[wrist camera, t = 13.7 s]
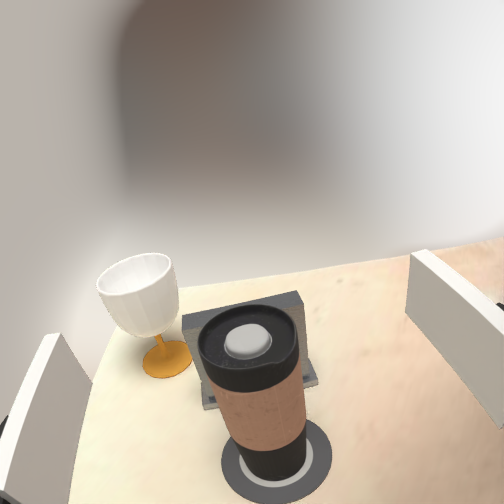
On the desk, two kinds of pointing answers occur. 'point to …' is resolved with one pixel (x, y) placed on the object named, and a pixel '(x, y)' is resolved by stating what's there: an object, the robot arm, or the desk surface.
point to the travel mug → (258, 386)
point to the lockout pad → (286, 491)
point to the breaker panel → (284, 301)
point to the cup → (146, 307)
